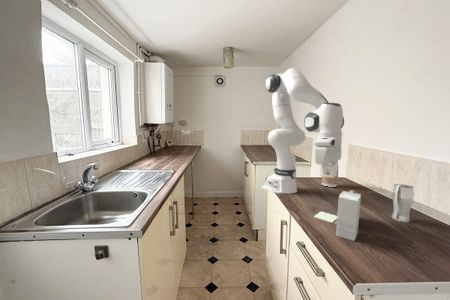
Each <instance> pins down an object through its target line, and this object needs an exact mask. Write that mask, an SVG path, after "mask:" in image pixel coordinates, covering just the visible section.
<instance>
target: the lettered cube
mask: <svg viewBox="0 0 450 300" xmlns="http://www.w3.org/2000/svg"><path fill="white" fill-rule="evenodd" d="M328 169H329V171H328V173H327V174H325V173H323V168H322V165H320V177H322V176H324V177H330V178H333V177H335V176H337V165H336V164H328Z"/></svg>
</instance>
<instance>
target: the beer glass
mask: <svg viewBox="0 0 450 300" xmlns="http://www.w3.org/2000/svg"><path fill="white" fill-rule="evenodd" d="M414 190H415V188H414V186H413V185H408V184H405V183H404V184H403V183H395V184H393V188H392V205H393V206H392V207H393V212H392V215H391V218H392V220H394V219H395V221H397V222H400V221H401V223H410V220H411V219H410V210H411V208H412V206H413V202H414V196H415V195H414V193H415V191H414Z"/></svg>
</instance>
